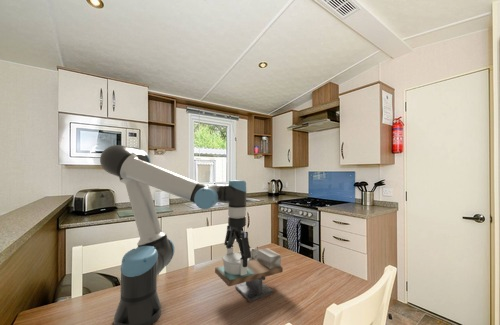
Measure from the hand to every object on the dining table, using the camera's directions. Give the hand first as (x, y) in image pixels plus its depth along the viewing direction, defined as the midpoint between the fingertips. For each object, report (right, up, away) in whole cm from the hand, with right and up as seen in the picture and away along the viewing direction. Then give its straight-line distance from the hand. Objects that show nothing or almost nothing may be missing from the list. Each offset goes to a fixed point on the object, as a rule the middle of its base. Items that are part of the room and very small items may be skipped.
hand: (236, 268), depth 90 cm
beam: (+5, -4, +3) cm, 8 cm away
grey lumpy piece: (+8, -13, +36) cm, 39 cm away
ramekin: (0, -1, 0) cm, 1 cm away
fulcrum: (+8, -12, +5) cm, 15 cm away
